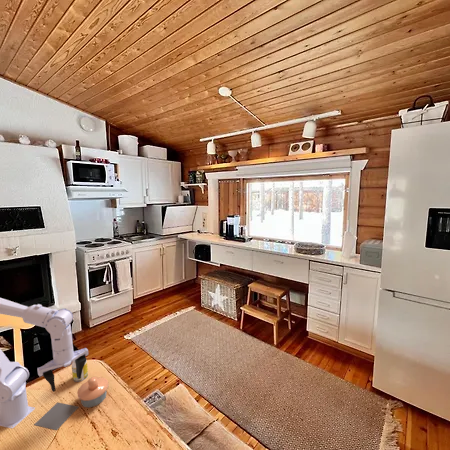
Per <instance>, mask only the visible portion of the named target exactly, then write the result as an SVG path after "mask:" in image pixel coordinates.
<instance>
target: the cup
mask: <svg viewBox="0 0 450 450" xmlns="http://www.w3.org/2000/svg"><path fill="white" fill-rule="evenodd" d="M106 398H107V391H106V392H105V393H104V394H102V395H101V396H100V397H98V398H96V399H93V400H89V401H83V400H80V401H81V404H82V406H83V407H84V408H92V407H97V406H98V405H100V404H101V403H102V402H104V400H106Z"/></svg>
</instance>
